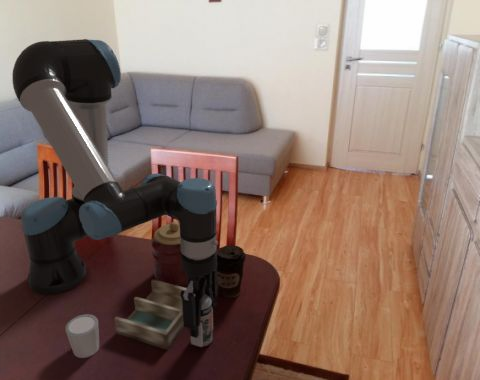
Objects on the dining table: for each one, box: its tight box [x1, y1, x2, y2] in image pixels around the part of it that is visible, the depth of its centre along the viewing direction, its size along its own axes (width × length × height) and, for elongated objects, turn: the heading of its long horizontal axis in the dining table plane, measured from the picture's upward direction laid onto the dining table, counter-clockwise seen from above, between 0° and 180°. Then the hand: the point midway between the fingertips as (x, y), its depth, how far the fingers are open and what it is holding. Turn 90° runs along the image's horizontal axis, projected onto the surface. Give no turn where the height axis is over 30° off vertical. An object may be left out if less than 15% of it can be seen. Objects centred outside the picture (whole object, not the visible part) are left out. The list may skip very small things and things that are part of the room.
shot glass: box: [65, 313, 100, 359], centre depth 90 cm, size 7×7×7 cm
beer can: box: [200, 294, 213, 347], centre depth 91 cm, size 5×5×12 cm
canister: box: [151, 221, 188, 288], centre depth 113 cm, size 13×13×18 cm
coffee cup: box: [216, 244, 247, 298], centre depth 108 cm, size 9×8×13 cm
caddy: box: [113, 278, 187, 351], centre depth 99 cm, size 14×16×4 cm
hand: (202, 336), depth 93 cm, fingers closed on beer can, 5 cm apart
